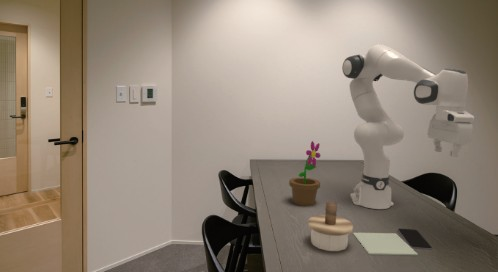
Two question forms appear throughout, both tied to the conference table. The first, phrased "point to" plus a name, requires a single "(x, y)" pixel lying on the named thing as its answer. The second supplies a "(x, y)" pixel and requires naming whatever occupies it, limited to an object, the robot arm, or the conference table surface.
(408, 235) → the smartphone
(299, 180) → the flowerpot
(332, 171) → the conference table surface
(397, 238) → the mat
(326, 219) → the lid
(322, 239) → the bowl
